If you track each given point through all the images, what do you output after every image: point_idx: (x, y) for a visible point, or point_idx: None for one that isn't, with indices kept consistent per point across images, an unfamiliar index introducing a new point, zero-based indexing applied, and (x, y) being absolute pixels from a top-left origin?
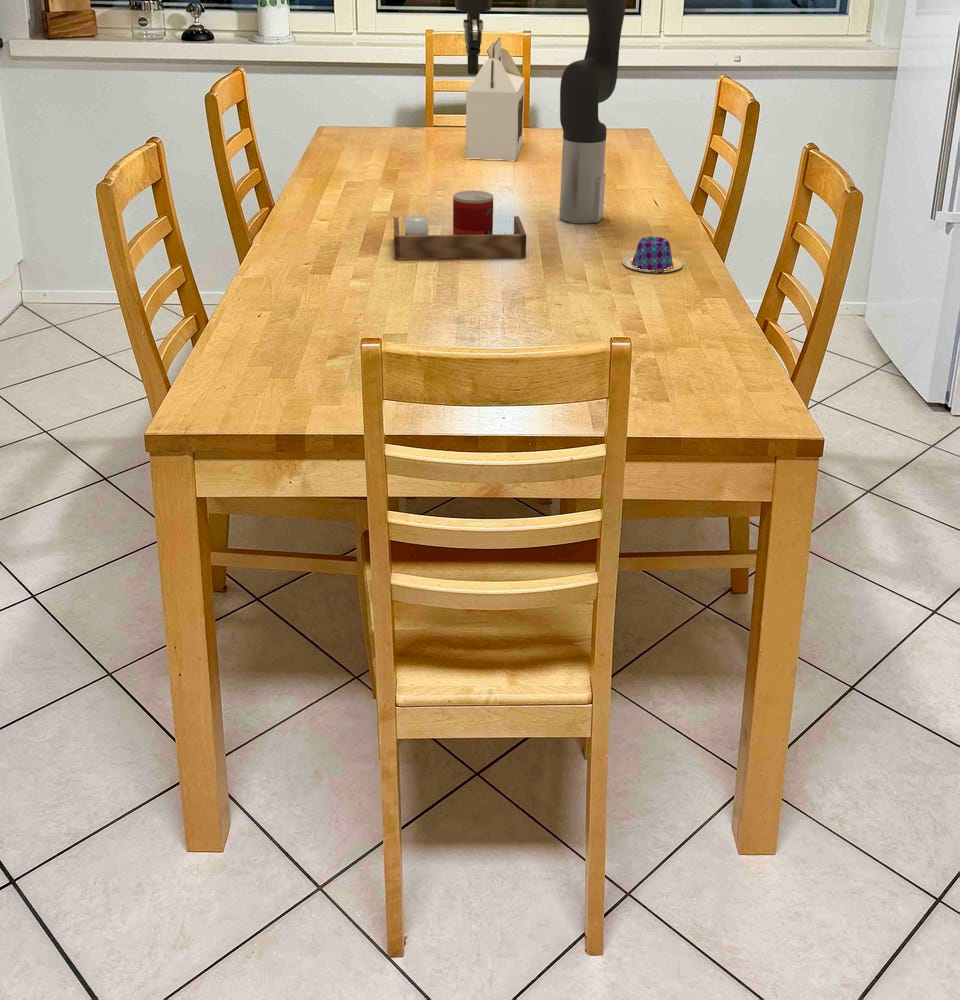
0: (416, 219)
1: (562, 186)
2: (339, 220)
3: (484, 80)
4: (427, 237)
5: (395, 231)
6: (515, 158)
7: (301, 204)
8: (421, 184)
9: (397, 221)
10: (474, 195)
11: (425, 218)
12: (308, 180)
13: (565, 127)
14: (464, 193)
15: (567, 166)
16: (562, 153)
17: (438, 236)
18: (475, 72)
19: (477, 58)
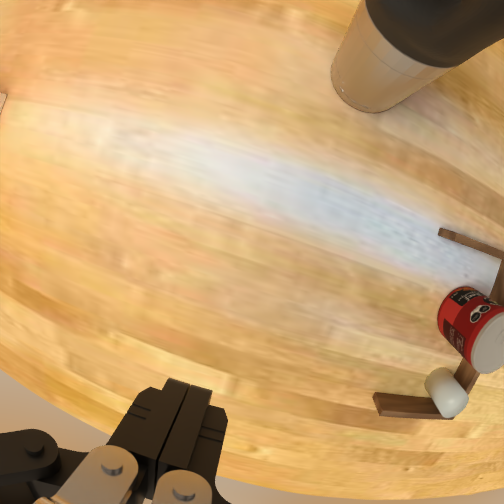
0: (458, 405)
1: (389, 98)
2: (259, 436)
3: None
4: (472, 385)
5: (436, 417)
6: (4, 94)
7: None
8: (81, 276)
9: (400, 413)
10: (492, 340)
11: (461, 395)
12: (63, 402)
13: (455, 59)
14: (479, 354)
15: (422, 85)
16: (403, 75)
17: (479, 374)
18: (208, 405)
19: (191, 462)
